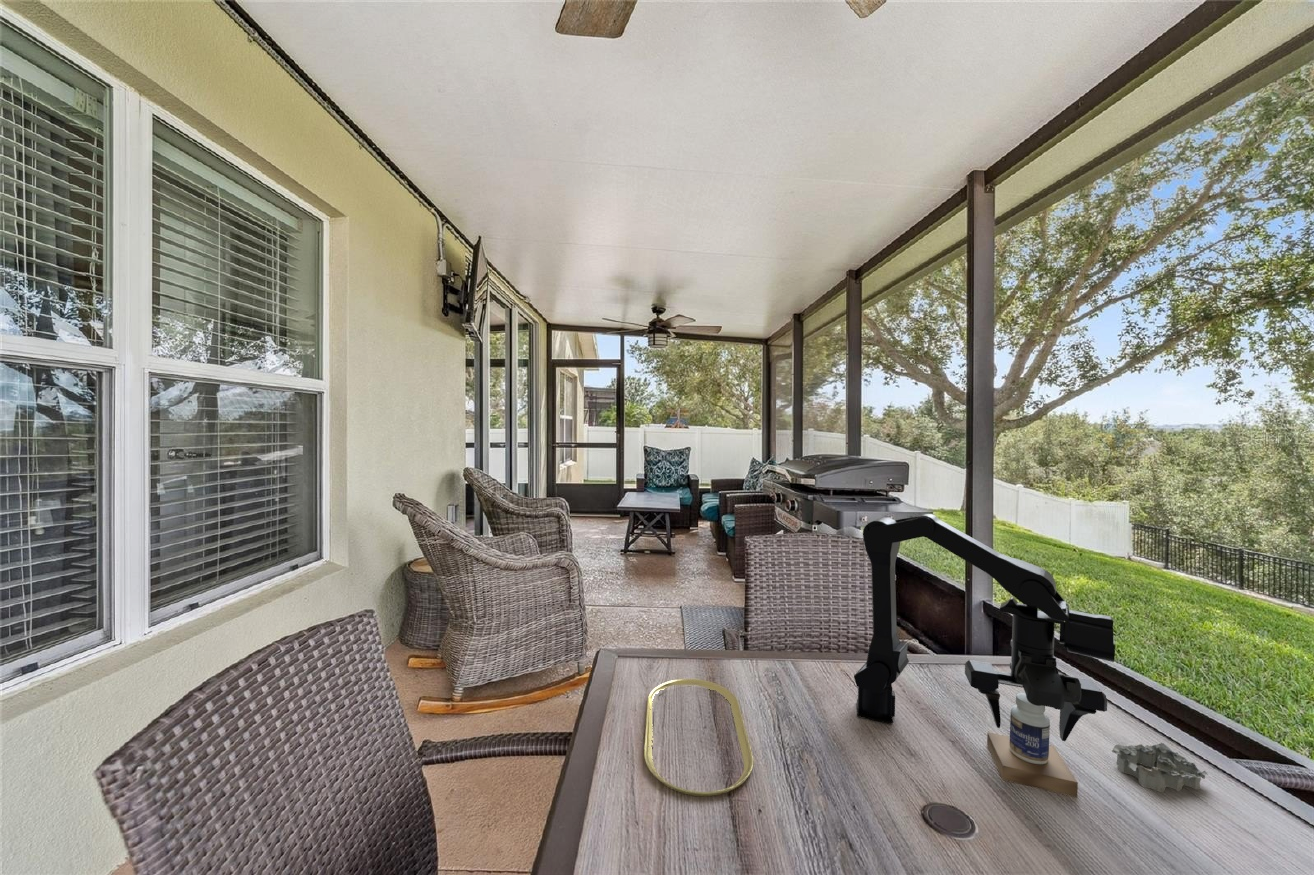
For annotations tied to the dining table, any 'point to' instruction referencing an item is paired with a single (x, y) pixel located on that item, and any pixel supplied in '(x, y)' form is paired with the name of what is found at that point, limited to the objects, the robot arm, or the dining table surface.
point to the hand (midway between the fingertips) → (1029, 733)
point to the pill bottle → (1029, 731)
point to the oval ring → (738, 723)
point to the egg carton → (1158, 767)
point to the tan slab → (1032, 768)
